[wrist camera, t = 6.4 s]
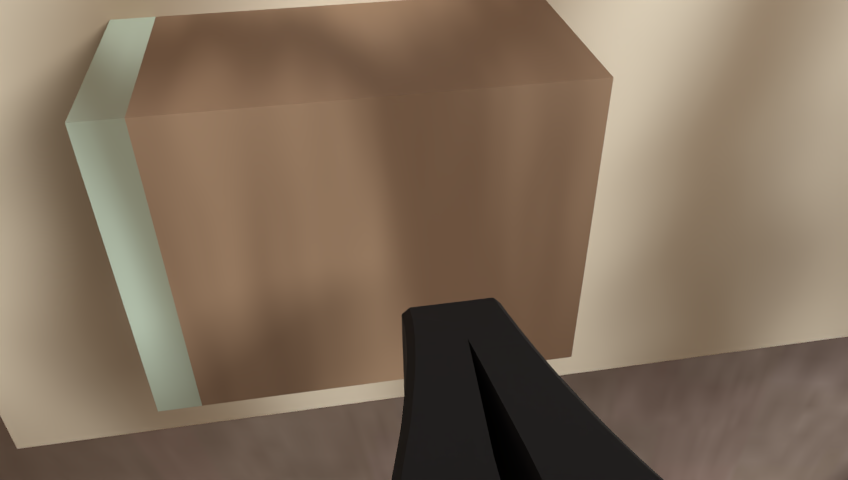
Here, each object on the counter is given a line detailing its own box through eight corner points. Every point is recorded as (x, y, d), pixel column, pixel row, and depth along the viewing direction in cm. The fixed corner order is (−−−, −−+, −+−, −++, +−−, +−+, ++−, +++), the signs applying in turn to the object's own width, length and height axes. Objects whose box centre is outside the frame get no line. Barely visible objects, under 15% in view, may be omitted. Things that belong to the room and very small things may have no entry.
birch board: (1121, -336, 14) (1173, -337, 13) (843, 312, 24) (863, 334, 23) (-330, -322, 11) (-376, -322, 10) (26, 418, 20) (17, 448, 20)
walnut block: (613, 77, 12) (64, 123, 11) (571, 356, 15) (158, 411, 14) (538, -9, 15) (110, 19, 14) (518, 239, 18) (177, 276, 17)
